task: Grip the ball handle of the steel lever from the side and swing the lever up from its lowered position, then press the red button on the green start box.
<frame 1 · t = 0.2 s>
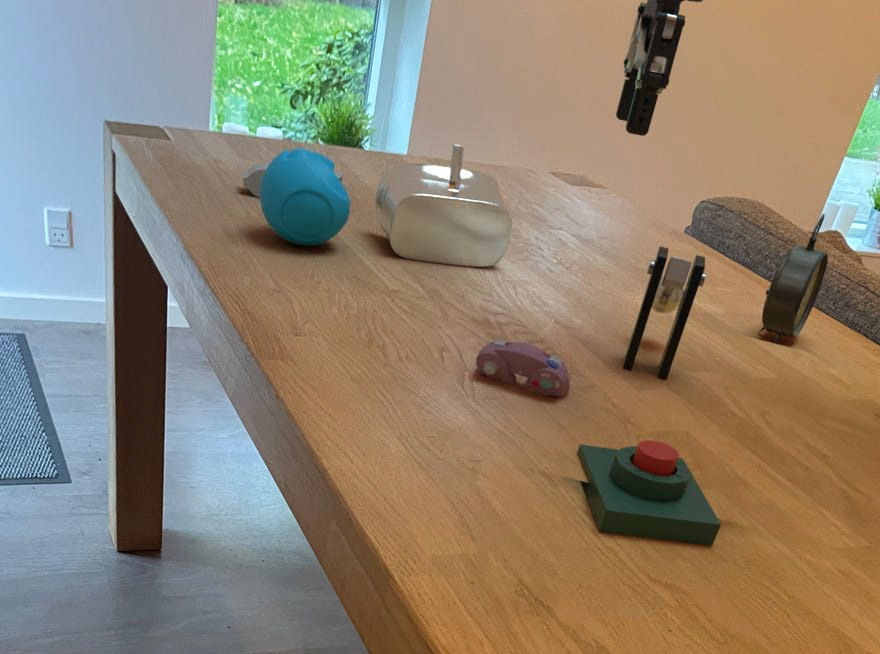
hand: (630, 126, 101), 24 cm above the table, tool pointing down, fingers open, 8 cm apart
start box: (639, 504, 87), on the table
bracket: (641, 379, 113), on the table
vr headset: (439, 253, 140), on the table
teal rounded lump: (299, 244, 132), on the table
button: (655, 458, 85), point 4 cm above the table, slide at 0.1 cm
video game controller: (517, 396, 103), on the table
bunny figurine: (292, 200, 150), on the table
lever: (670, 285, 111), point 9 cm above the table, hinge at -28.0°
alarm clock: (772, 340, 133), on the table
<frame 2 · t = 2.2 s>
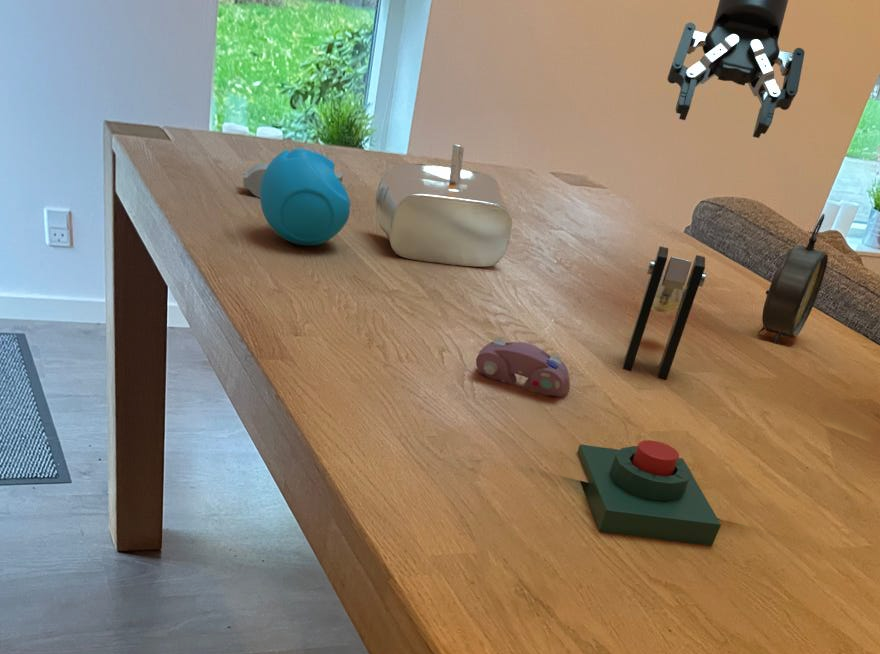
hand: (721, 124, 111), 25 cm above the table, tool tilted 45°, fingers open, 8 cm apart
nothing on the table moved.
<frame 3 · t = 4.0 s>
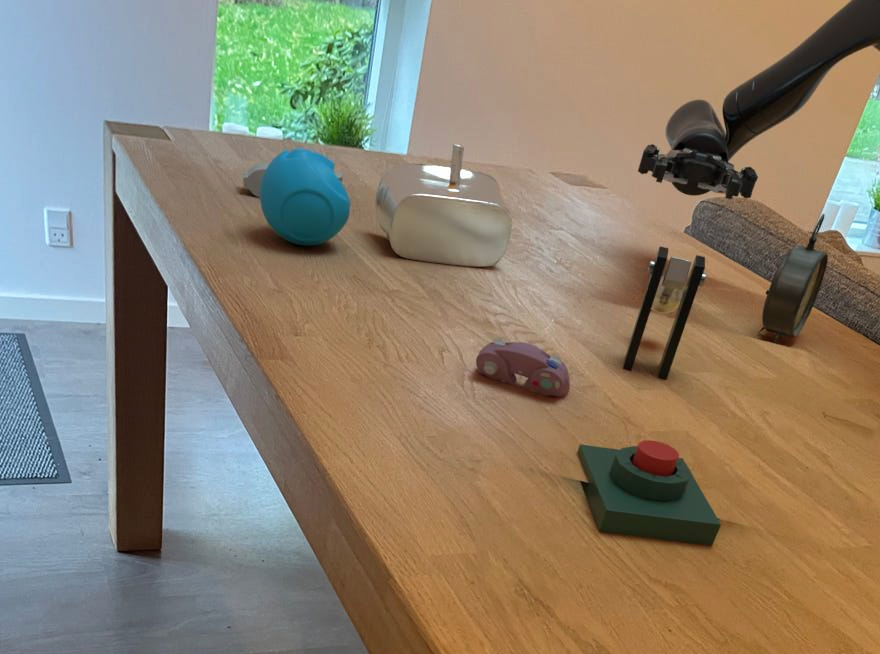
hand: (696, 181, 118), 18 cm above the table, tool horizontal, fingers open, 8 cm apart
nothing on the table moved.
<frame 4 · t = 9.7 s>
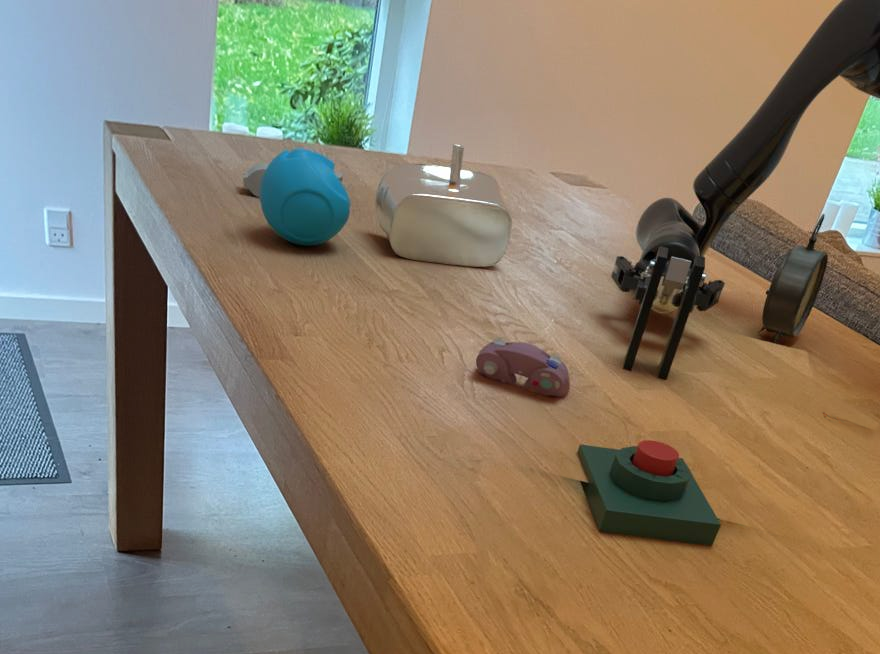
hand: (664, 301, 113), 7 cm above the table, tool horizontal, fingers closed on lever, 4 cm apart
lever: (670, 285, 111), point 9 cm above the table, hinge at -28.0°, touching gripper
everything else where it was.
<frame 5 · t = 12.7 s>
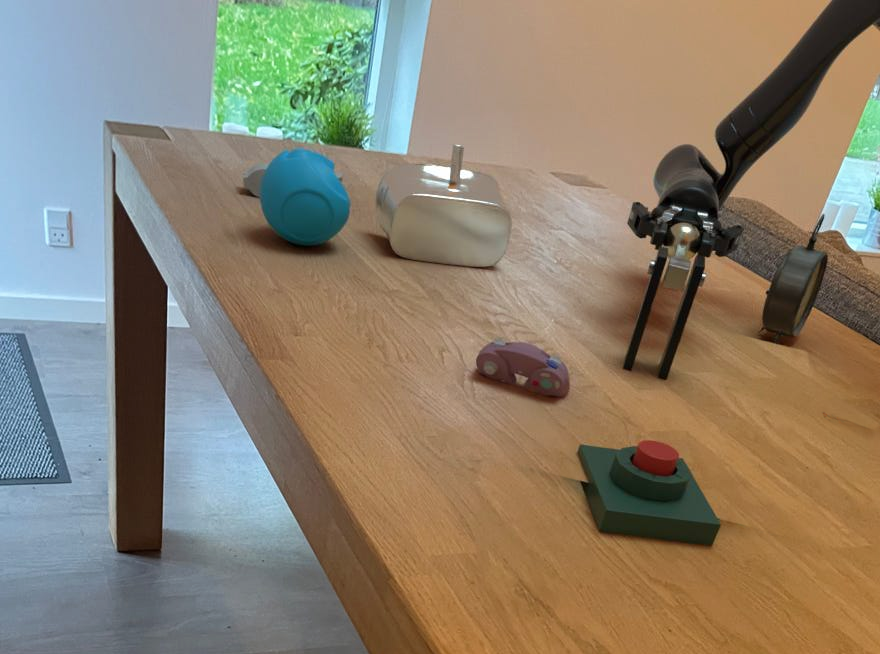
hand: (681, 245, 110), 13 cm above the table, tool horizontal, fingers closed on lever, 4 cm apart
lever: (679, 256, 109), point 13 cm above the table, hinge at 5.9°, touching gripper
everything else where it was.
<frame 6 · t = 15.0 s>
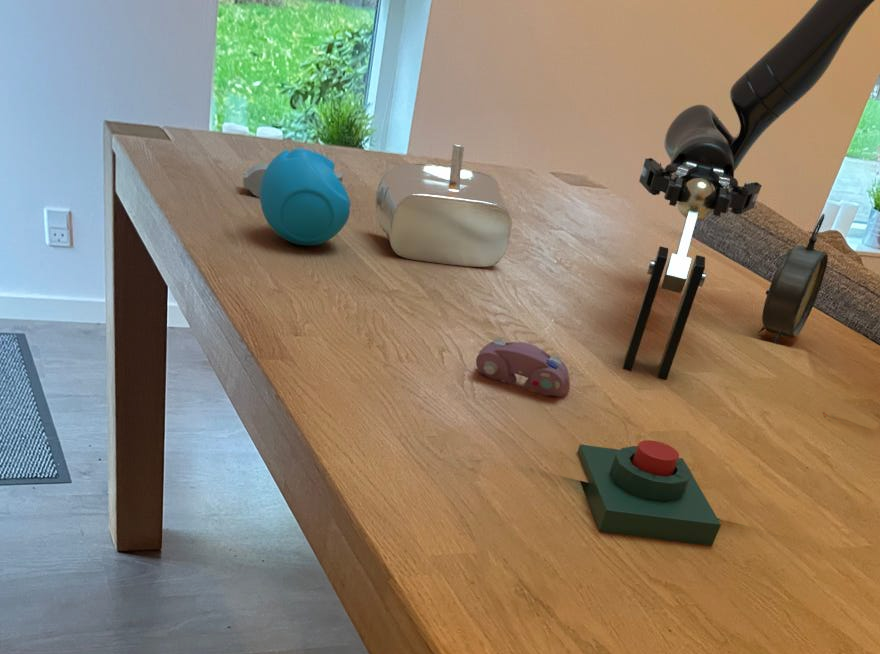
hand: (697, 200, 105), 19 cm above the table, tool horizontal, fingers closed on lever, 4 cm apart
lever: (687, 233, 107), point 15 cm above the table, hinge at 37.6°, touching gripper
everything else where it was.
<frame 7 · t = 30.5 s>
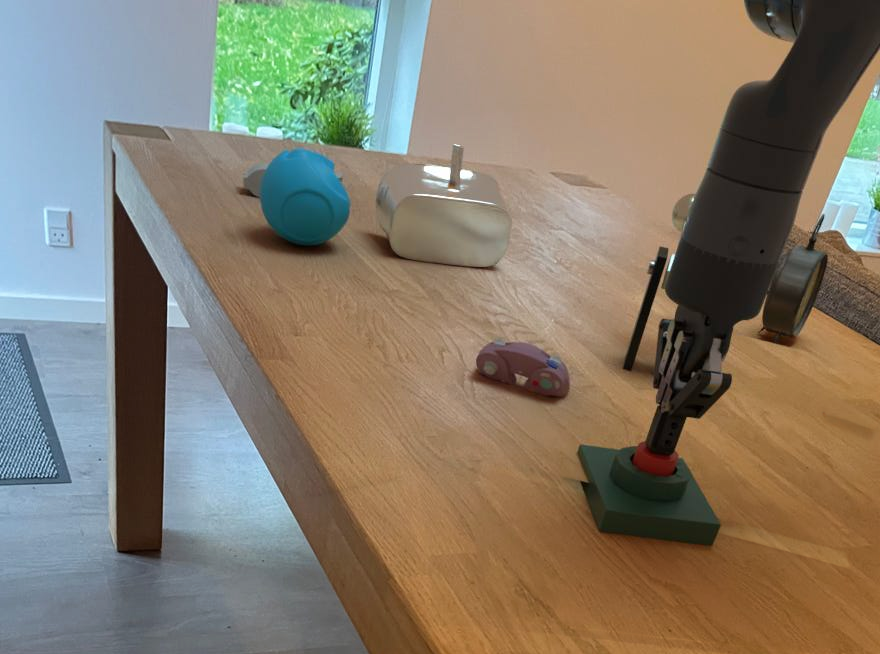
hand: (658, 450, 84), 5 cm above the table, tool pointing down, fingers closed
button: (655, 459, 85), point 4 cm above the table, slide at 0.0 cm, touching gripper
lever: (684, 241, 108), point 14 cm above the table, hinge at 25.5°
everything else where it was.
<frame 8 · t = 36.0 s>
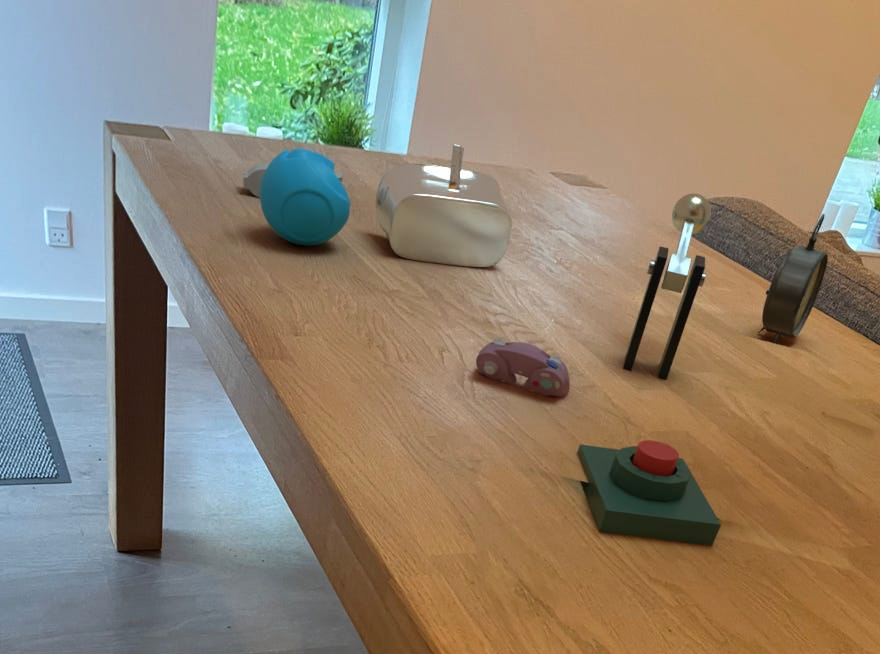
button: (655, 458, 85), point 4 cm above the table, slide at 0.1 cm
everything else where it was.
at the end: lever at +26° (first picture: -28°); button pushed in 1.1 cm at the most during the clip, back to where it started at the end; button slide at 0.1 cm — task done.
